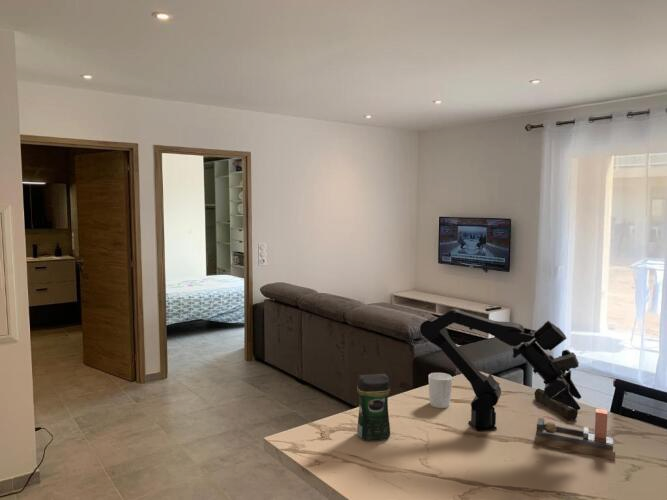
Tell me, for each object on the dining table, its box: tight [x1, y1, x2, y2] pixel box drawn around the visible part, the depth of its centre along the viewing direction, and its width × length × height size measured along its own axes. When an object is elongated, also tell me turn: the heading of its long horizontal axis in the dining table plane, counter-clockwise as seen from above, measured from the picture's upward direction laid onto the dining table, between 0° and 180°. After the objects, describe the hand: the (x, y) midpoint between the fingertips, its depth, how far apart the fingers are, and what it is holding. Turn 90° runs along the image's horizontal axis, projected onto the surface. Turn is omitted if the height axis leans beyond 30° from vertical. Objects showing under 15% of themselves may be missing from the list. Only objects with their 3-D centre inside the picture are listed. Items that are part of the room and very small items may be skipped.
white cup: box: [428, 372, 453, 409], centre depth 170 cm, size 8×8×10 cm
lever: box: [583, 408, 614, 445], centre depth 138 cm, size 7×4×9 cm, turn 62°
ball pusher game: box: [534, 417, 616, 460], centre depth 141 cm, size 20×9×5 cm, turn 62°
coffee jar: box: [356, 373, 391, 442], centre depth 145 cm, size 10×8×19 cm
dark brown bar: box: [534, 388, 579, 422], centre depth 166 cm, size 19×4×5 cm, turn 12°
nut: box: [545, 421, 557, 433], centre depth 143 cm, size 3×3×3 cm
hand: (579, 403), depth 139 cm, fingers open, 9 cm apart
